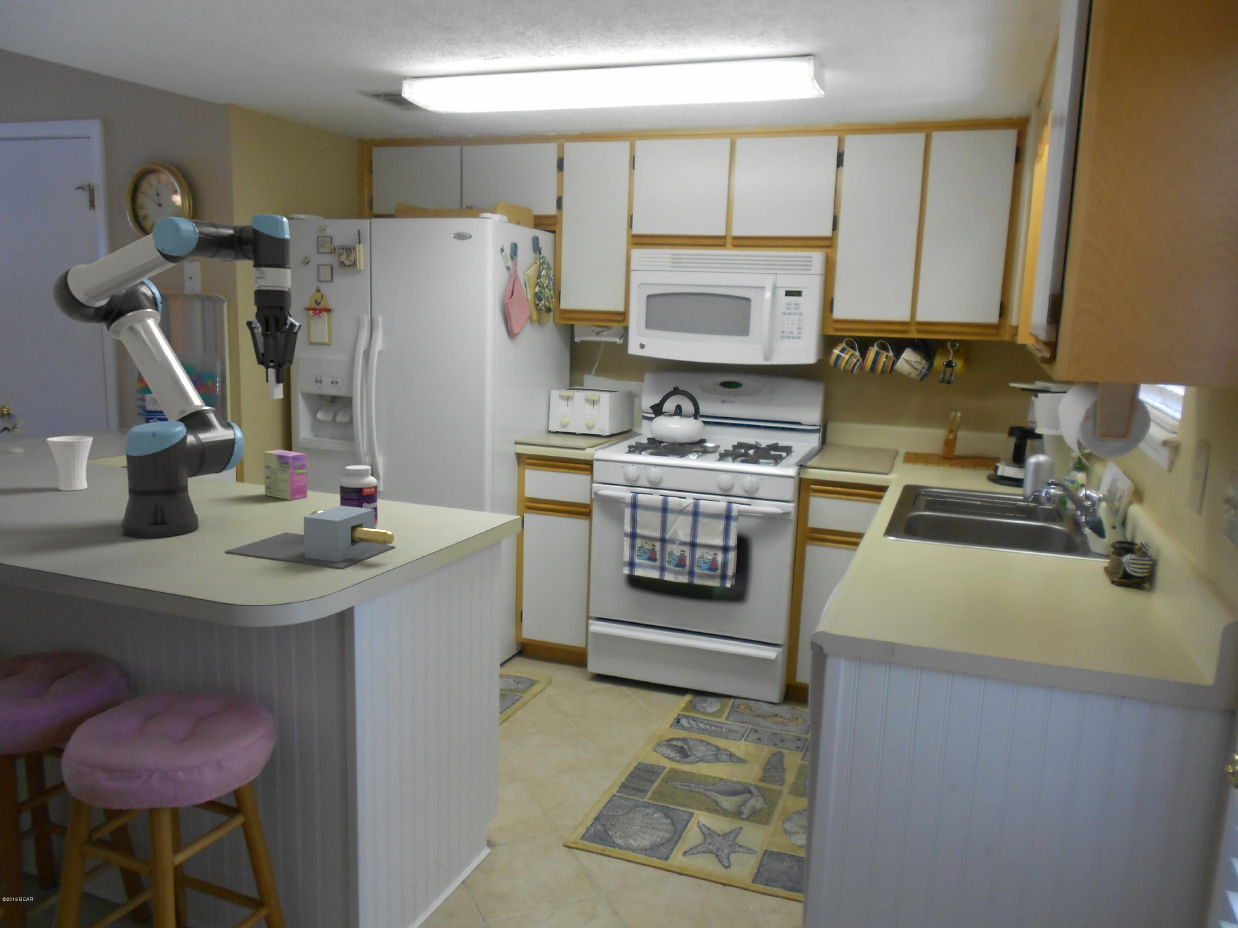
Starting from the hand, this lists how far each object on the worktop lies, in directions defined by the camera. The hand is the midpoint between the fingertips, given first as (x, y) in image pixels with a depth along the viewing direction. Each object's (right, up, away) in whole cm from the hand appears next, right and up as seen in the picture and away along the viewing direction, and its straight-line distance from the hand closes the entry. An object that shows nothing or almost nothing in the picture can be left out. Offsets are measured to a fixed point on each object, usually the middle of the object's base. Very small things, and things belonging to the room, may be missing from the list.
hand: (276, 398), depth 197 cm
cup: (-70, -21, +42) cm, 84 cm away
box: (-13, -23, +40) cm, 48 cm away
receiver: (+19, -33, -15) cm, 40 cm away
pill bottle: (+17, -30, +6) cm, 34 cm away
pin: (+22, -32, -16) cm, 42 cm away
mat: (+12, -32, -12) cm, 37 cm away
